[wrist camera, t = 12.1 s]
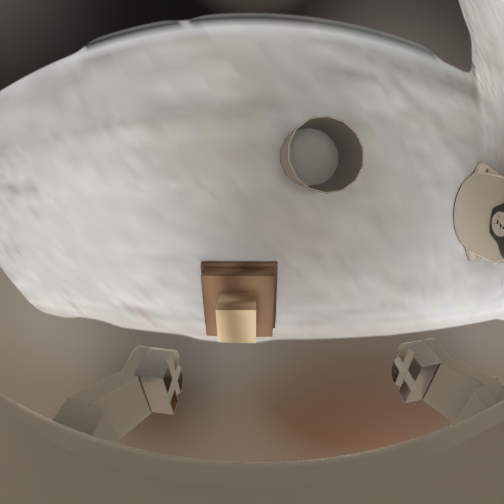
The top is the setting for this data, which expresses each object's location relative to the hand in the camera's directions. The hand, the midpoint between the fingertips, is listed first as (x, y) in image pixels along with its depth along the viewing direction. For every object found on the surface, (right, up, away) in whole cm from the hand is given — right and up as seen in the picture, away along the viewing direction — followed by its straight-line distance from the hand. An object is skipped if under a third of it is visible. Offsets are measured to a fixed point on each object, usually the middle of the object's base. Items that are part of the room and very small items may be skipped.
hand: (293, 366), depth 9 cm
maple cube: (-3, -4, +30) cm, 30 cm away
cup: (+7, +17, +27) cm, 33 cm away
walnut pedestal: (-3, -3, +34) cm, 34 cm away
